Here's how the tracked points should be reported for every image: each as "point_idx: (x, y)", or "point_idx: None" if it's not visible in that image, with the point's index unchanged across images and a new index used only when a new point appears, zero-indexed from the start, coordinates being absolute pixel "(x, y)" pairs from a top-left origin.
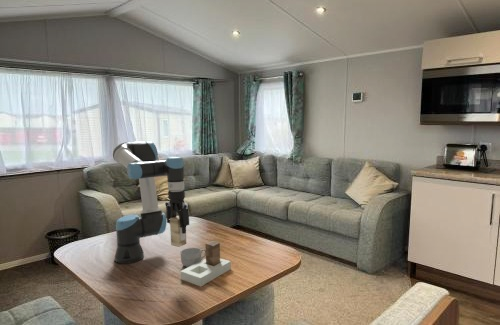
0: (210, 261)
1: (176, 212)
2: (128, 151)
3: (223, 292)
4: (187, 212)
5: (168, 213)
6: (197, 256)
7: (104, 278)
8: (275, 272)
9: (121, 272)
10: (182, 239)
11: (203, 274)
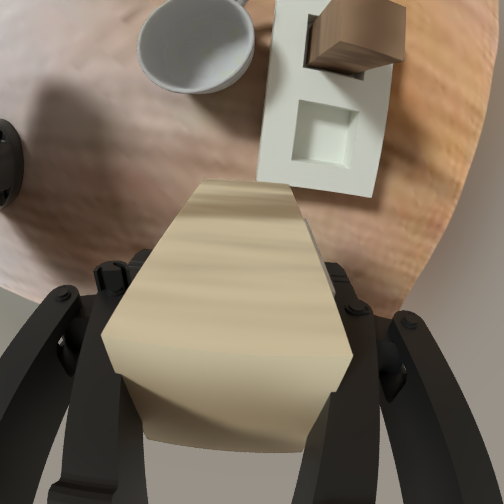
0: (344, 66)
1: (118, 454)
2: None
3: (434, 192)
4: (472, 478)
5: (51, 439)
6: (252, 50)
7: (60, 283)
8: (493, 36)
9: (54, 239)
10: None
11: (366, 166)
